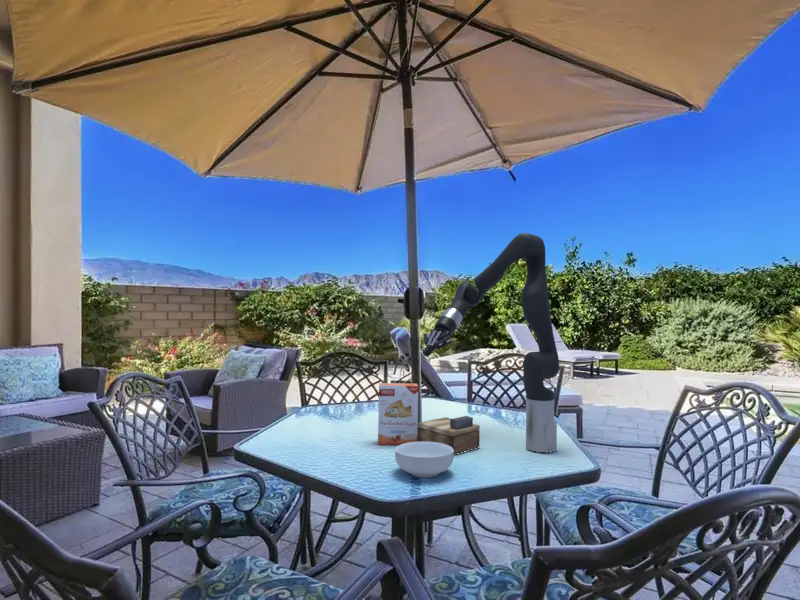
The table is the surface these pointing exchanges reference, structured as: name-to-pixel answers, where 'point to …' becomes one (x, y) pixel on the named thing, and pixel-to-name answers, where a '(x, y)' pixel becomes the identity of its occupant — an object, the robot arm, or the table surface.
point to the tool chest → (451, 439)
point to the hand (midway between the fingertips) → (425, 354)
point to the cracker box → (397, 413)
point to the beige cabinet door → (450, 425)
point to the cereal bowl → (424, 458)
